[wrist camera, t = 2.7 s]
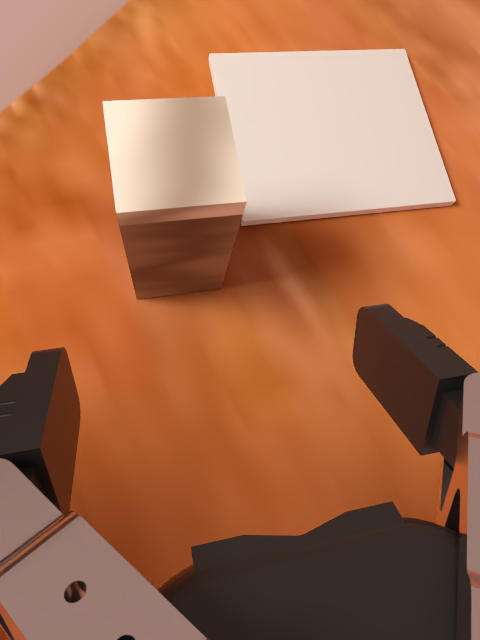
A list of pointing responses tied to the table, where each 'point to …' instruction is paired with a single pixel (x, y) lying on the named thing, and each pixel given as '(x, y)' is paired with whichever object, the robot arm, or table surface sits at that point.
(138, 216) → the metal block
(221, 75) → the white mat
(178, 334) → the table surface
